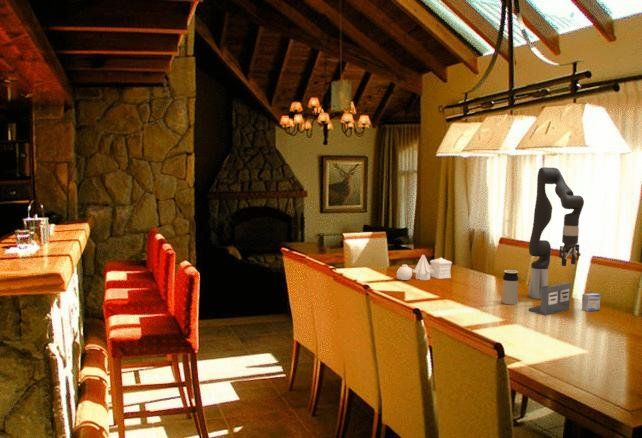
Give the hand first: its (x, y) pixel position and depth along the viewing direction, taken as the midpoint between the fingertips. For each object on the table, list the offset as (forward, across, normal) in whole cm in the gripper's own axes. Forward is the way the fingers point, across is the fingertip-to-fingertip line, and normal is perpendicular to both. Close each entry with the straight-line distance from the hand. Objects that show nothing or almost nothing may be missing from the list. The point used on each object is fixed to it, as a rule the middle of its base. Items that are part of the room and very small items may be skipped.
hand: (568, 265), depth 306 cm
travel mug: (+26, +9, -28) cm, 39 cm away
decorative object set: (+28, -4, -108) cm, 111 cm away
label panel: (+25, +4, -7) cm, 26 cm away
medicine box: (+25, -14, +6) cm, 29 cm away
